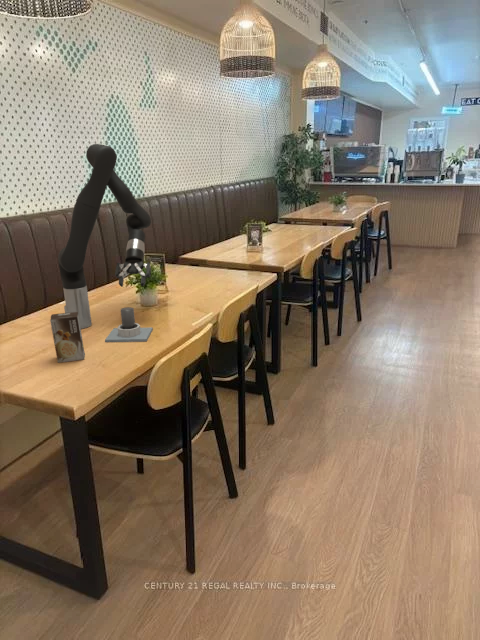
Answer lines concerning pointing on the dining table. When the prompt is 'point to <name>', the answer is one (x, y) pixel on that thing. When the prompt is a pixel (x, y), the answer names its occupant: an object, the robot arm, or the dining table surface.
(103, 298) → the dining table surface
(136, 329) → the grey ring socket base
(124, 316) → the dark grey cylinder
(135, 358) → the dining table surface
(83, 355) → the coffee box
